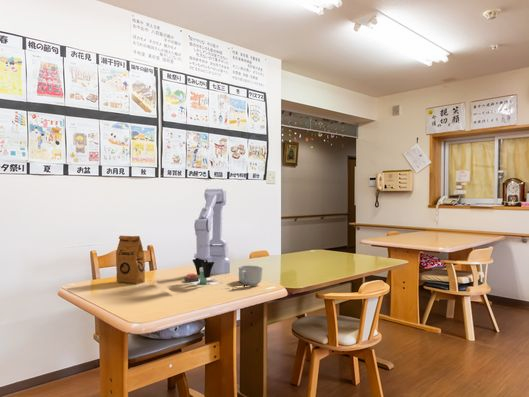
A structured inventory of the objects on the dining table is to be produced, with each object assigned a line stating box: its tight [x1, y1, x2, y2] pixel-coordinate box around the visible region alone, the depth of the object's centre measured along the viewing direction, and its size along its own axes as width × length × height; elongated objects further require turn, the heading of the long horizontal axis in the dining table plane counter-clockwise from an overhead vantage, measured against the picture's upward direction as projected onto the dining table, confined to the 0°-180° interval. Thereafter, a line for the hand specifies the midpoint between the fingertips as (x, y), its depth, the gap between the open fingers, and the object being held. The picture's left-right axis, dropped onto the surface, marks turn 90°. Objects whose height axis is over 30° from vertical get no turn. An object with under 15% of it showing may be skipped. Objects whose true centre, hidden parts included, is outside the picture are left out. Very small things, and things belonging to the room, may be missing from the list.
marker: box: [199, 267, 207, 284], centre depth 172 cm, size 3×3×7 cm
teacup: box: [238, 264, 264, 287], centre depth 175 cm, size 14×11×8 cm
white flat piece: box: [184, 276, 223, 287], centre depth 177 cm, size 13×15×3 cm
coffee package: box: [115, 235, 146, 285], centre depth 182 cm, size 10×12×22 cm
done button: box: [186, 272, 197, 279], centre depth 178 cm, size 3×3×2 cm
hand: (203, 276), depth 172 cm, fingers open, 7 cm apart
